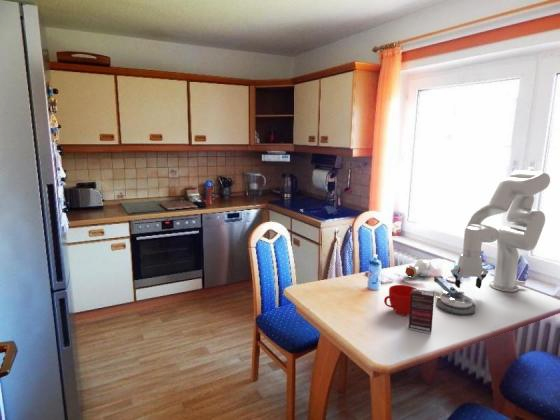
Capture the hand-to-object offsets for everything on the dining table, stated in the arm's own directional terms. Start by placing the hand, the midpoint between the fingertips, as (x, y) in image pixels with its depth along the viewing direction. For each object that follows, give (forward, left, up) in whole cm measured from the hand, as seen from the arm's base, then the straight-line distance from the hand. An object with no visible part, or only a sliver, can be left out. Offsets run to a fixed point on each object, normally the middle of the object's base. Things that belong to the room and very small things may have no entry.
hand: (467, 287), depth 178 cm
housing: (+11, +12, -5) cm, 17 cm away
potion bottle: (+14, -26, -5) cm, 30 cm away
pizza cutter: (+11, +4, -3) cm, 12 cm away
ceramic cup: (+38, +18, -5) cm, 42 cm away
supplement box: (+34, +32, -5) cm, 47 cm away
